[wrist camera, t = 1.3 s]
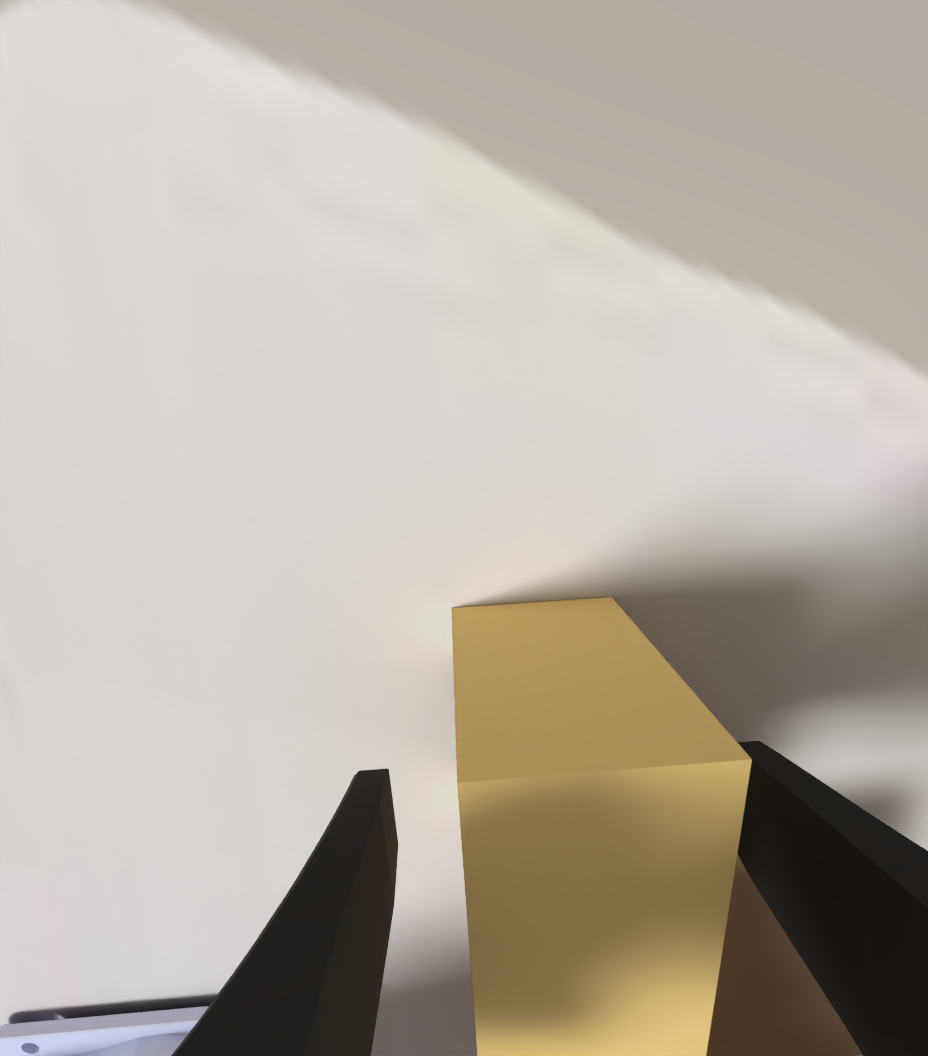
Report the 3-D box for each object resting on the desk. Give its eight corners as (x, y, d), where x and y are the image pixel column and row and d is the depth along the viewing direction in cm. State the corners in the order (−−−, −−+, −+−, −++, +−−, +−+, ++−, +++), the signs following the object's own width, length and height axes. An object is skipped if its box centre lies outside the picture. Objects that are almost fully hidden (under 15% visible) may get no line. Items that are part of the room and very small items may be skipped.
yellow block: (465, 810, 13) (479, 1077, 8) (451, 607, 11) (457, 783, 6) (602, 799, 13) (705, 1056, 8) (611, 596, 11) (751, 759, 6)
